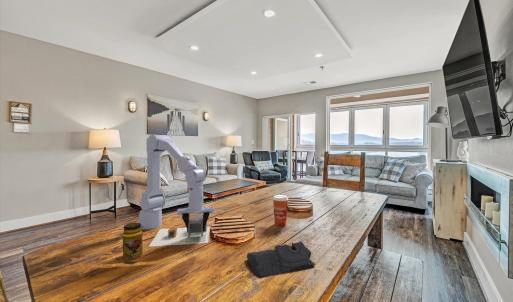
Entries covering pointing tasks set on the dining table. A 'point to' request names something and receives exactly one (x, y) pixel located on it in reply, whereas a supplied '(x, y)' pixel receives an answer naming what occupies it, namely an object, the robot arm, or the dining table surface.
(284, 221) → the paper cup
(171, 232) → the letter cube
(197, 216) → the right cover
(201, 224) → the left cover
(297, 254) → the folded black cloth
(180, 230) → the board
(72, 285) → the dining table surface
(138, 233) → the condiment
